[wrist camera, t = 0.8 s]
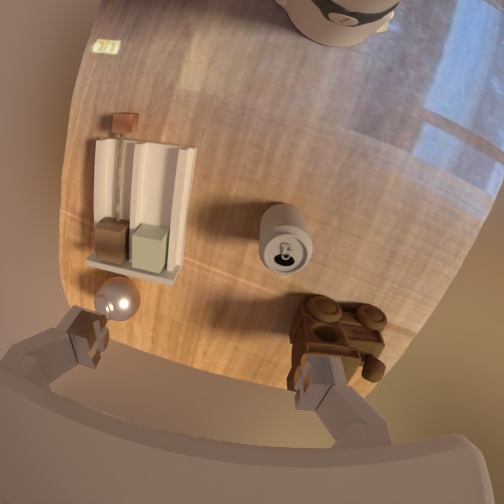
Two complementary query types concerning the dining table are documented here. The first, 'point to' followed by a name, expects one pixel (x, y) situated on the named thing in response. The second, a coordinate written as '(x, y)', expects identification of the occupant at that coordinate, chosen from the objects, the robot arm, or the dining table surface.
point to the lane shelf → (145, 197)
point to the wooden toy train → (339, 337)
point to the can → (284, 240)
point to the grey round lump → (117, 299)
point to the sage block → (150, 247)
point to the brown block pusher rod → (114, 229)
